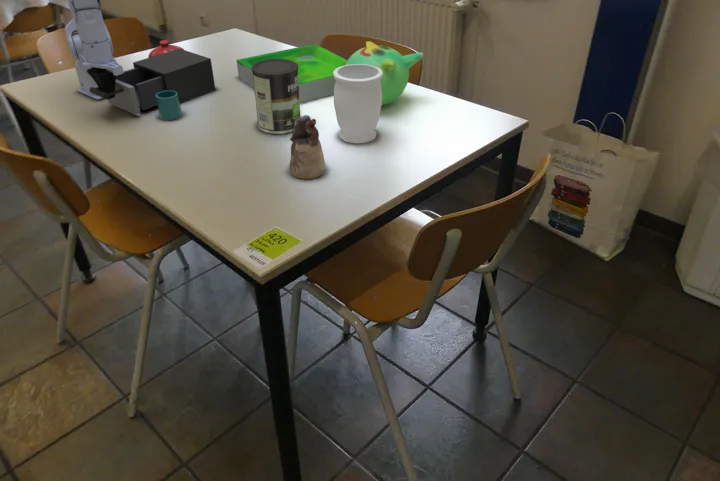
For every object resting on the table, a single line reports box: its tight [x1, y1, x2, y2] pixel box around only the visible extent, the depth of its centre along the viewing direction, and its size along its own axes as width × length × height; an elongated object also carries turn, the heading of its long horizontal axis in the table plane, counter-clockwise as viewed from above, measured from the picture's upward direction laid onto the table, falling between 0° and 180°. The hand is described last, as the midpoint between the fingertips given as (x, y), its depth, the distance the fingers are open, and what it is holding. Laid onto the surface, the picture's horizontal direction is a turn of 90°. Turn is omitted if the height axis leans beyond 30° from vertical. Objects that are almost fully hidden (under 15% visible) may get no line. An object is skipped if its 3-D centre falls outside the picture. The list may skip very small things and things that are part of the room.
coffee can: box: [251, 59, 302, 135], centre depth 130 cm, size 10×10×14 cm
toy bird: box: [345, 40, 424, 107], centre depth 140 cm, size 18×17×15 cm
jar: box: [333, 64, 383, 144], centre depth 125 cm, size 11×10×15 cm
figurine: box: [289, 114, 326, 180], centre depth 113 cm, size 7×7×12 cm
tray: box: [236, 43, 348, 104], centre depth 154 cm, size 25×25×5 cm
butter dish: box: [147, 39, 185, 58], centre depth 160 cm, size 12×12×8 cm
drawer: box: [90, 67, 166, 116], centre depth 139 cm, size 19×12×7 cm, turn 142°
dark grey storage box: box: [132, 48, 216, 104], centre depth 147 cm, size 14×13×8 cm
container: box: [156, 90, 182, 121], centre depth 136 cm, size 5×5×6 cm
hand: (109, 97), depth 135 cm, fingers closed
